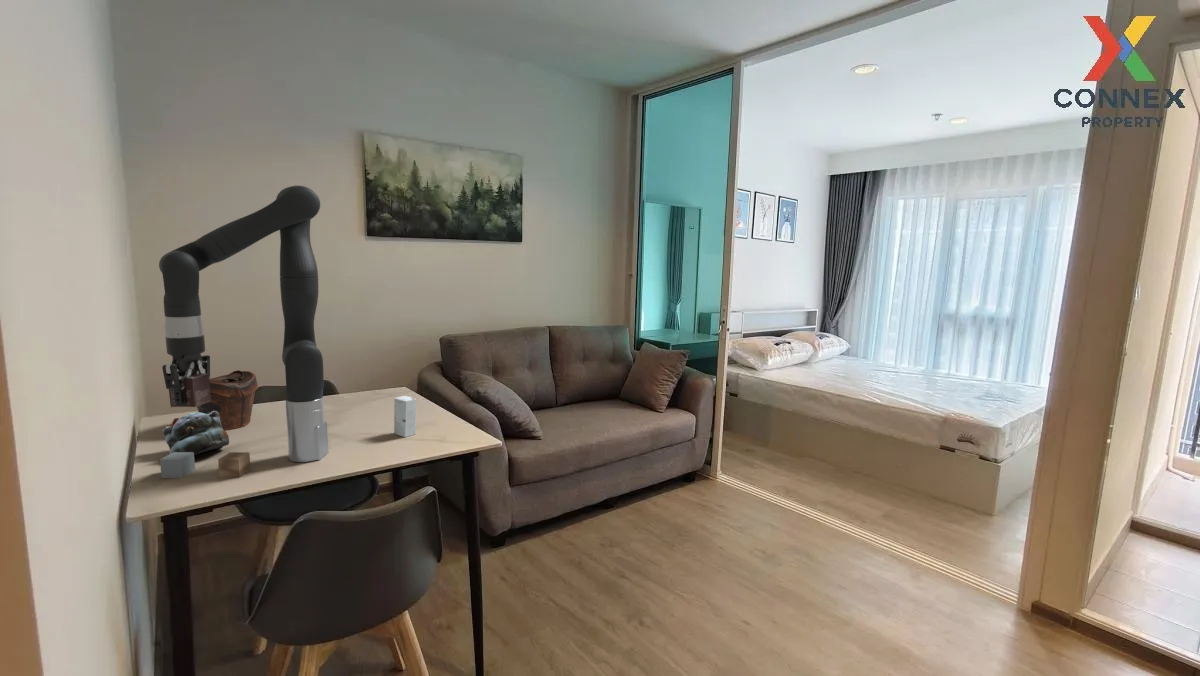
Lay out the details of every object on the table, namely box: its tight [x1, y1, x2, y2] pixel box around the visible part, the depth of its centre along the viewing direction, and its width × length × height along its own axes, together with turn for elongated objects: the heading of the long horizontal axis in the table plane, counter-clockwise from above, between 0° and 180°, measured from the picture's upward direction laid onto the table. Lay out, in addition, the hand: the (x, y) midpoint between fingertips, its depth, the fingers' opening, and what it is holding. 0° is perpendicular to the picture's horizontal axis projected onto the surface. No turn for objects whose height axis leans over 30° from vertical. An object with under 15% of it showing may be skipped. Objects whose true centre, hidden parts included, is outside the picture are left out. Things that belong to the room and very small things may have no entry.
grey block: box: [159, 452, 196, 479], centre depth 140 cm, size 5×5×5 cm
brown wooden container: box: [196, 369, 259, 431], centre depth 178 cm, size 18×20×18 cm
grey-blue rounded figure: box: [161, 408, 230, 456], centre depth 153 cm, size 15×12×14 cm
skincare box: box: [393, 395, 417, 438], centre depth 175 cm, size 6×4×12 cm
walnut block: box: [217, 451, 252, 479], centre depth 141 cm, size 5×5×5 cm
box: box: [168, 373, 211, 408], centre depth 133 cm, size 6×6×7 cm
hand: (190, 400), depth 134 cm, fingers closed on box, 6 cm apart
